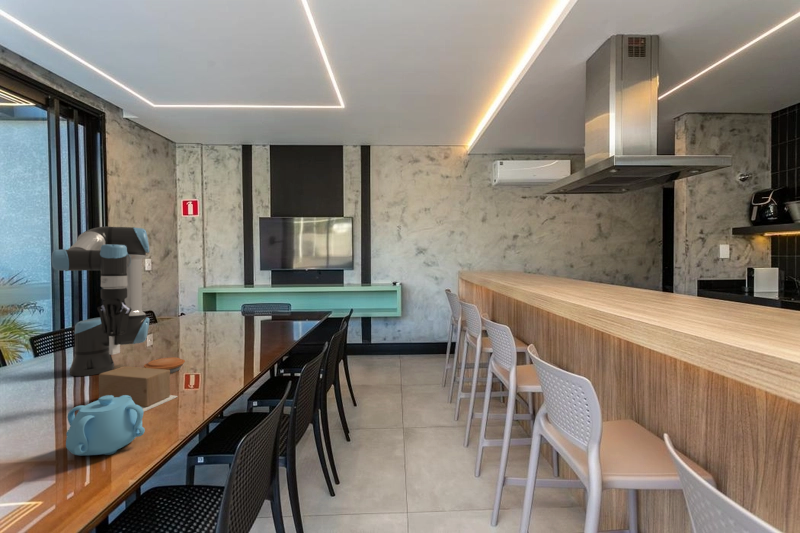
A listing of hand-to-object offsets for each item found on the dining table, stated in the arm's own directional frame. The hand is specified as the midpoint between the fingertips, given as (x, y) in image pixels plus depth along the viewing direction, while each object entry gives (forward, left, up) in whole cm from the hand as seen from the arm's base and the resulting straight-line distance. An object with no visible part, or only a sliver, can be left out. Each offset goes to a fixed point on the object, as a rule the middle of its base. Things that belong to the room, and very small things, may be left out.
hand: (114, 353), depth 132 cm
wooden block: (0, -2, -11) cm, 11 cm away
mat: (0, +10, -17) cm, 19 cm away
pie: (-31, -11, -17) cm, 37 cm away
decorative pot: (+26, +30, -17) cm, 43 cm away
